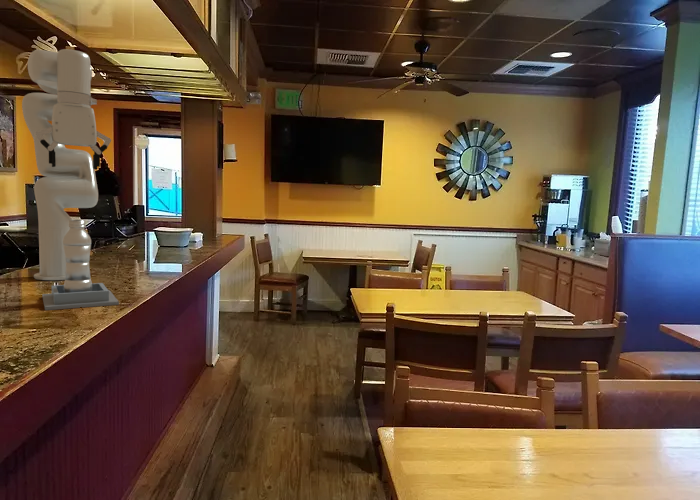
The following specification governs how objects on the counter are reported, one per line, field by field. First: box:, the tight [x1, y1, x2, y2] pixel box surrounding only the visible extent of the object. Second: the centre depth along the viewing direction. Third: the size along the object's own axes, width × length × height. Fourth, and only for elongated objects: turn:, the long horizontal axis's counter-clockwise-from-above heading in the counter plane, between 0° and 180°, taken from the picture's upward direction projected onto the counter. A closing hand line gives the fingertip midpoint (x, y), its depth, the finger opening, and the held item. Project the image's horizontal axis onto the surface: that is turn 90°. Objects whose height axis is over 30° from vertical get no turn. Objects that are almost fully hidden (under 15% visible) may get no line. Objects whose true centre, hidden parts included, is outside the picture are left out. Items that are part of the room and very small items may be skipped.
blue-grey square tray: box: [42, 282, 120, 311], centre depth 130 cm, size 16×16×3 cm
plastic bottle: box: [63, 219, 93, 293], centre depth 129 cm, size 6×7×20 cm
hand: (74, 168), depth 132 cm, fingers open, 9 cm apart
